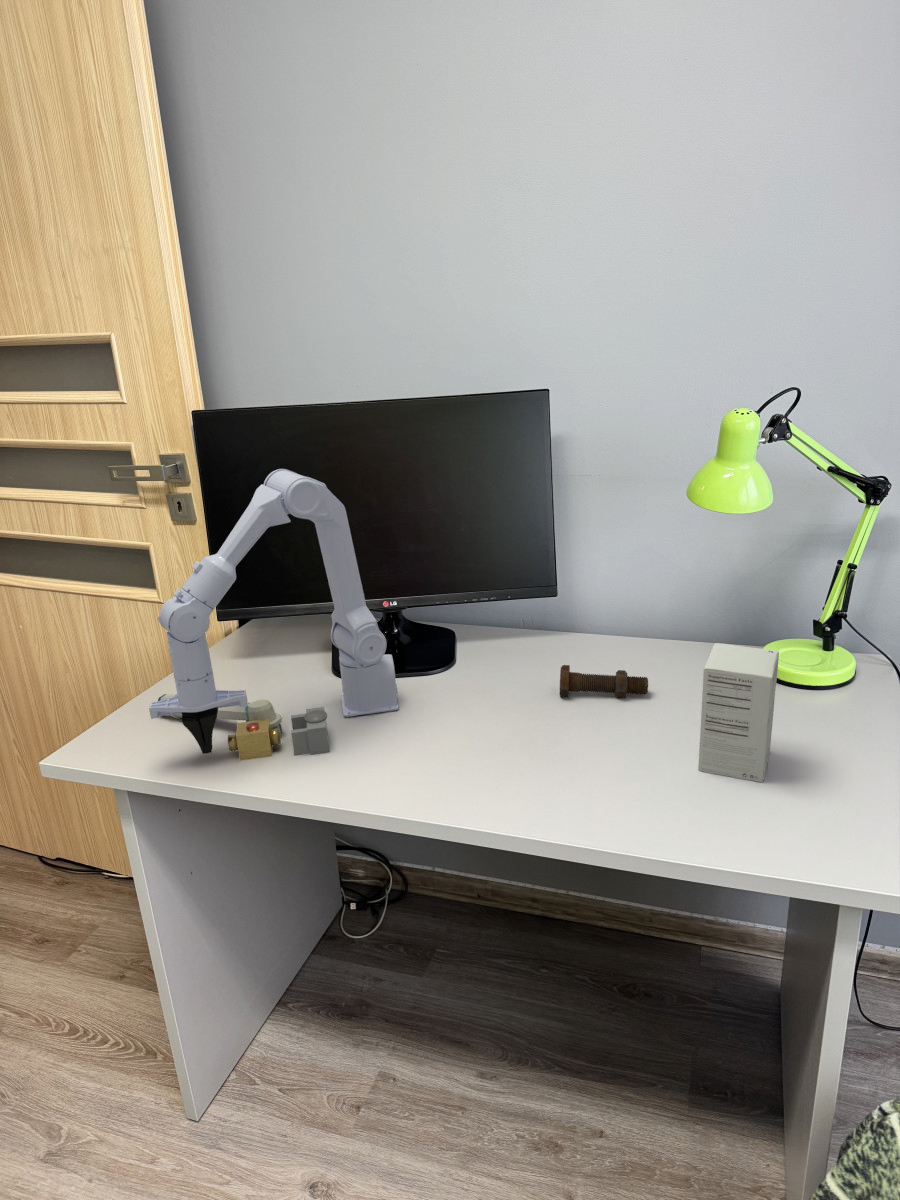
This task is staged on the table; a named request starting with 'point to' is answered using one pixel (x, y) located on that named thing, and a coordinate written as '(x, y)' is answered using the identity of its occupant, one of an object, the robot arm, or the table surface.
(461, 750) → the table surface
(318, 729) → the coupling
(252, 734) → the valve
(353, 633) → the robot arm
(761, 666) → the supplement box
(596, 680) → the bolt
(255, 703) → the toothbrush head
